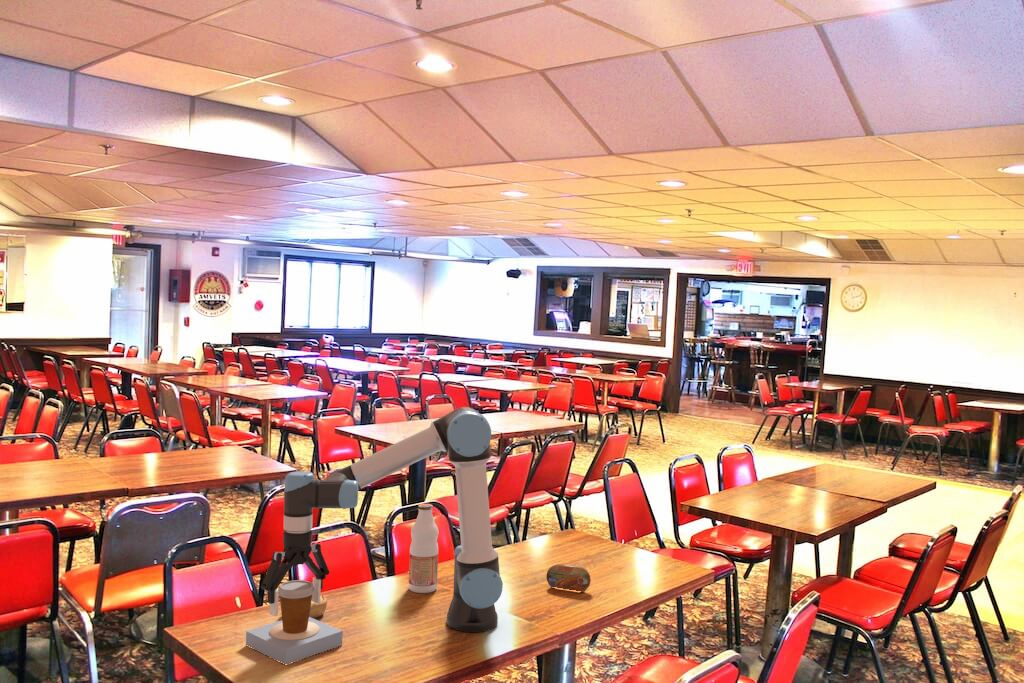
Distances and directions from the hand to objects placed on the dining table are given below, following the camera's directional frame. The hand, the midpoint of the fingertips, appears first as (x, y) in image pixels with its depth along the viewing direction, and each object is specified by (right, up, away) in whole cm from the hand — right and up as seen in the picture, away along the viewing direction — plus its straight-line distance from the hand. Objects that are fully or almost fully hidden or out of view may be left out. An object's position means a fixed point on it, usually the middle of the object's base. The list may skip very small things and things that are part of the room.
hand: (295, 608), depth 216 cm
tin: (+77, -12, +54) cm, 95 cm away
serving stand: (0, -10, 0) cm, 10 cm away
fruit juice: (+29, -10, +50) cm, 59 cm away
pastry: (-3, -10, +23) cm, 25 cm away
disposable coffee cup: (0, -6, 0) cm, 6 cm away
